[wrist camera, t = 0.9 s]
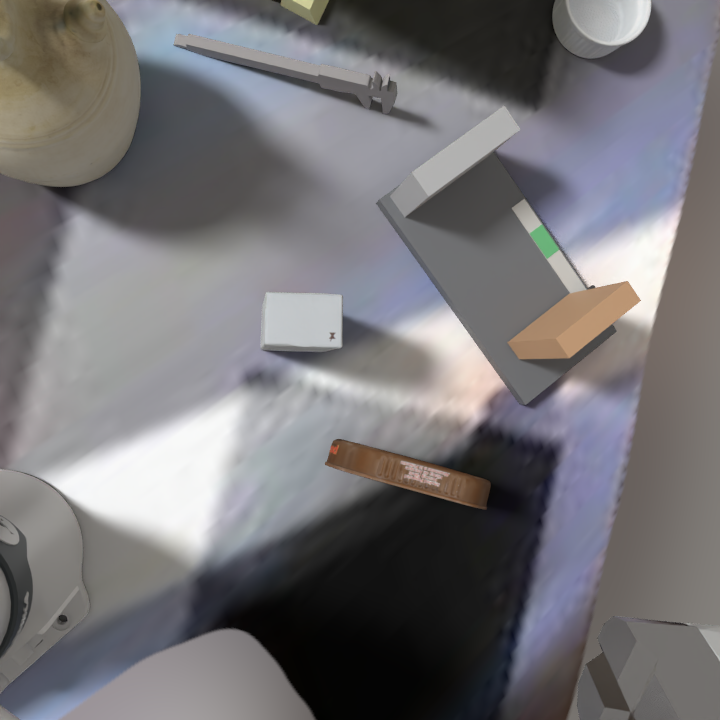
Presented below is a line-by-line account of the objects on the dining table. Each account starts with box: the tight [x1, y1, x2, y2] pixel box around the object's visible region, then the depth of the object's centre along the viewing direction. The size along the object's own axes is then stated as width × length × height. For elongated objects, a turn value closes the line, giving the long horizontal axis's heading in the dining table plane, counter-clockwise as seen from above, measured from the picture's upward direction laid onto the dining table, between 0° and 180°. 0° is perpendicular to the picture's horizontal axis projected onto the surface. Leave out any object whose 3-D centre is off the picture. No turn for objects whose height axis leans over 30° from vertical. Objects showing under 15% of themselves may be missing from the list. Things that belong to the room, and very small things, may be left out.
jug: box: [0, 0, 141, 187], centre depth 48 cm, size 15×16×25 cm
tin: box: [325, 439, 491, 509], centre depth 61 cm, size 15×3×8 cm, turn 73°
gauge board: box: [376, 106, 616, 405], centre depth 62 cm, size 24×12×10 cm, turn 37°
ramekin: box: [552, 0, 651, 59], centre depth 67 cm, size 9×9×4 cm
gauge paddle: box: [507, 281, 641, 359], centre depth 61 cm, size 2×10×10 cm, turn 127°
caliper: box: [174, 34, 397, 114], centre depth 61 cm, size 20×1×6 cm, turn 76°
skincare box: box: [261, 292, 343, 352], centre depth 58 cm, size 6×4×12 cm
